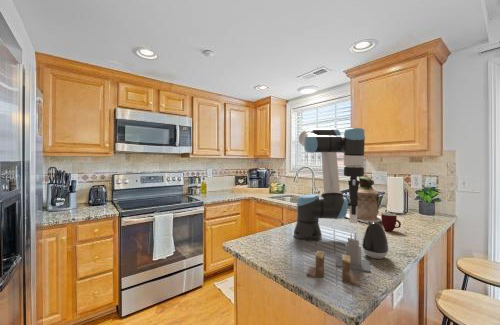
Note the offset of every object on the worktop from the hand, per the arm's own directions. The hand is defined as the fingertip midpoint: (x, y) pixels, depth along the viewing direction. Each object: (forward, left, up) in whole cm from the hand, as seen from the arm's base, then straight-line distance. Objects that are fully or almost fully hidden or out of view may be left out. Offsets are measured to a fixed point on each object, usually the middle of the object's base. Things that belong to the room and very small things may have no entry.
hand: (353, 218), depth 96 cm
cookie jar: (+9, +90, -19) cm, 92 cm away
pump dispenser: (+9, +13, -19) cm, 24 cm away
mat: (0, 0, -19) cm, 19 cm away
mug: (+22, +61, -19) cm, 67 cm away
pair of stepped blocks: (-7, -14, -19) cm, 25 cm away
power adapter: (0, 0, -18) cm, 18 cm away
